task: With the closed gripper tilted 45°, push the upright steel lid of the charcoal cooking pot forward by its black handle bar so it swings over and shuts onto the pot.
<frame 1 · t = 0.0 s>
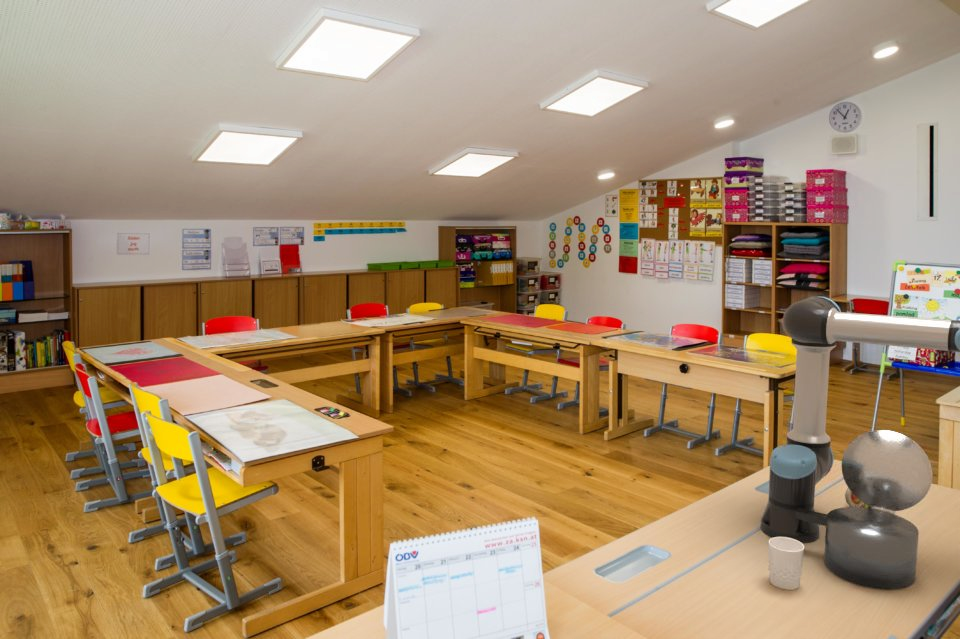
cooker lid: (886, 471, 185), point 21 cm above the table, hinge at 100.0°
white cup: (784, 583, 172), on the table
bird rattle: (858, 508, 214), on the table
cooker pot: (868, 568, 178), on the table
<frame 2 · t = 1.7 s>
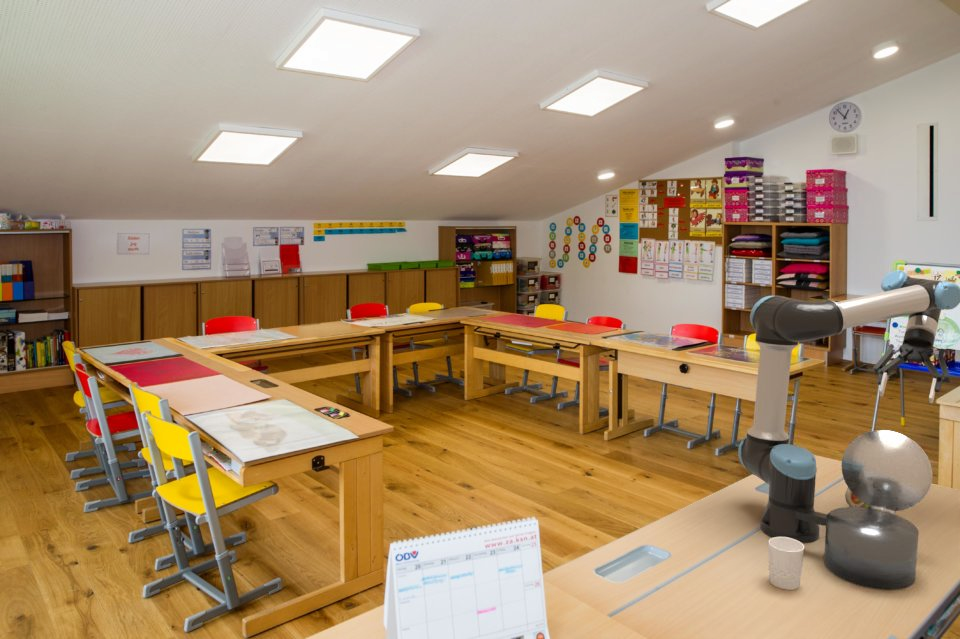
hand: (905, 397, 197), 37 cm above the table, tool tilted 45°, fingers open, 11 cm apart
nothing on the table moved.
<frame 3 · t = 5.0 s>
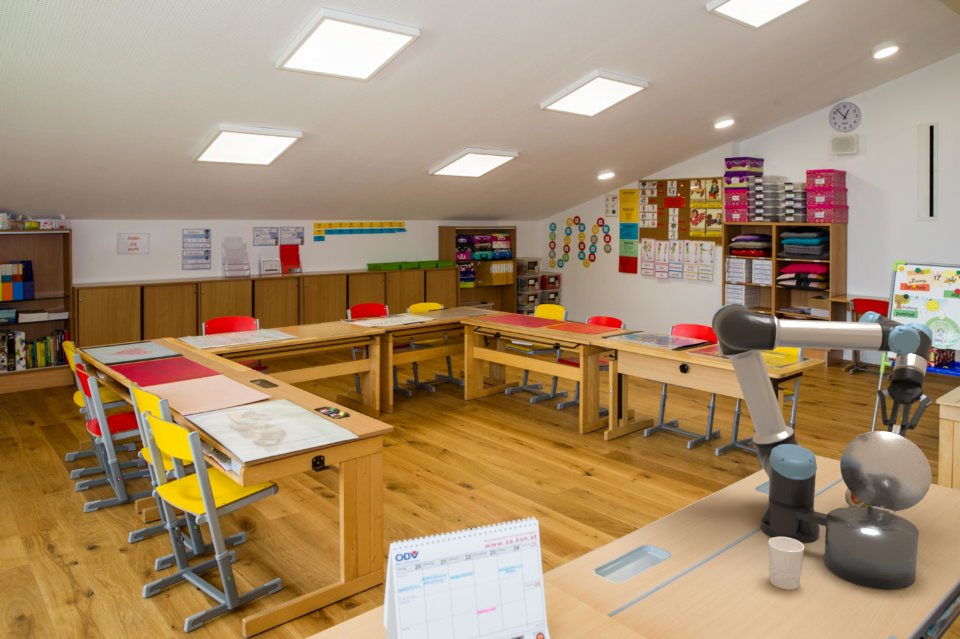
hand: (892, 449, 185), 27 cm above the table, tool tilted 45°, fingers closed
cooker lid: (885, 470, 184), point 22 cm above the table, hinge at 91.5°, touching gripper
everything else where it was.
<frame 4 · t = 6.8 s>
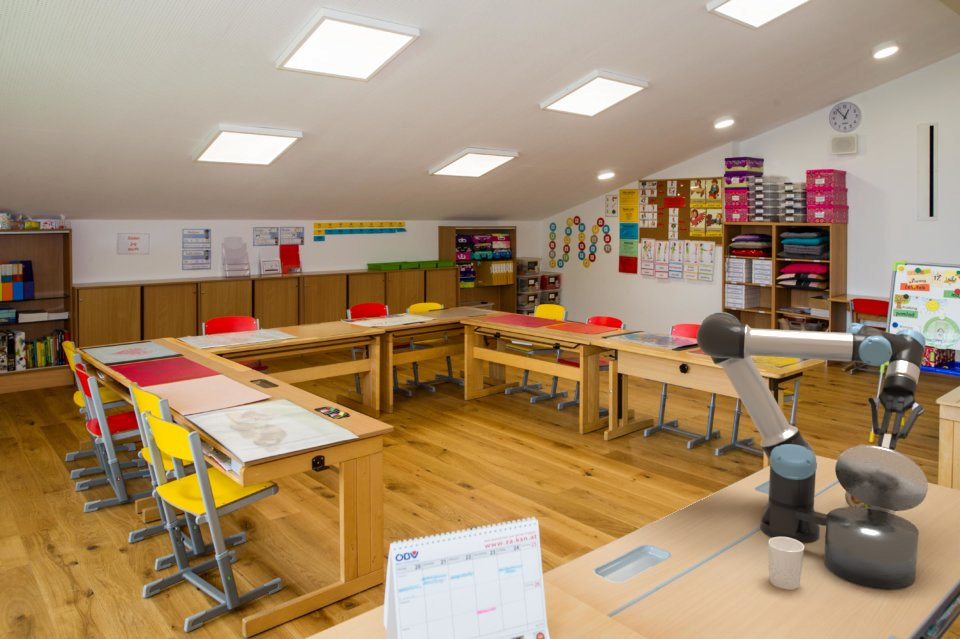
hand: (883, 458, 179), 27 cm above the table, tool tilted 45°, fingers closed
cooker lid: (881, 475, 181), point 22 cm above the table, hinge at 64.5°, touching gripper
everything else where it was.
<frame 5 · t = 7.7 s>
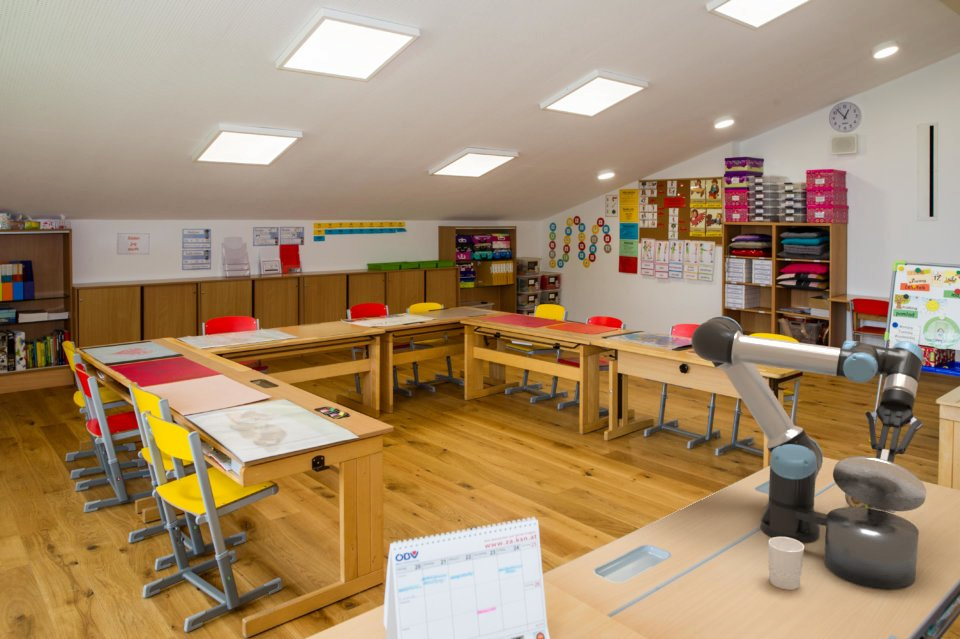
hand: (881, 474, 177), 24 cm above the table, tool tilted 45°, fingers closed
cooker lid: (879, 480, 179), point 21 cm above the table, hinge at 52.6°, touching gripper
everything else where it was.
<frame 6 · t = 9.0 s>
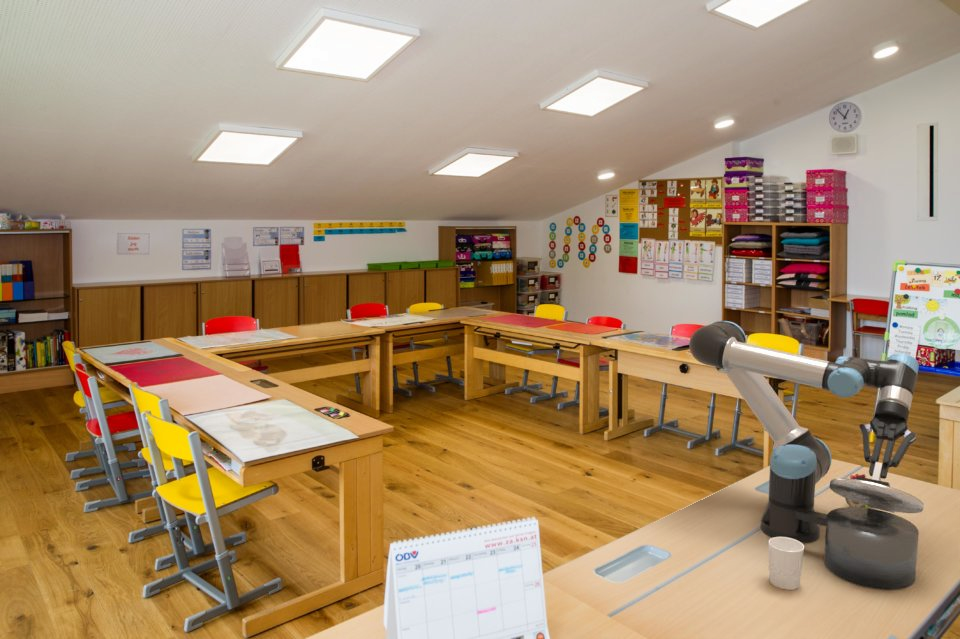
hand: (874, 488, 175), 21 cm above the table, tool tilted 45°, fingers closed
cooker lid: (876, 490, 177), point 19 cm above the table, hinge at 33.7°, touching gripper
everything else where it was.
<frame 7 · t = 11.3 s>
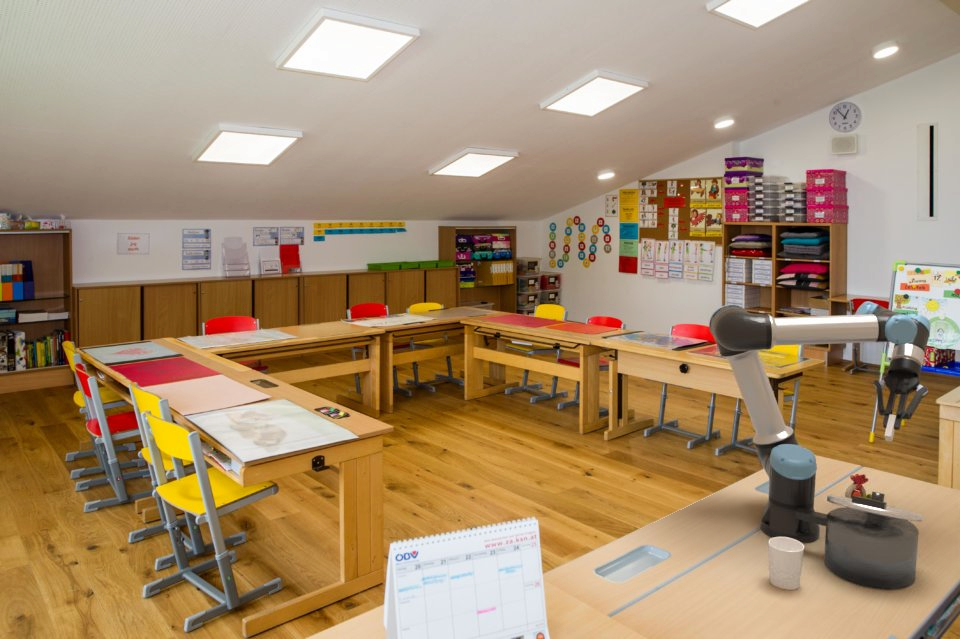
hand: (888, 438, 184), 30 cm above the table, tool tilted 45°, fingers closed
cooker lid: (874, 501, 176), point 17 cm above the table, hinge at 17.0°
everything else where it was.
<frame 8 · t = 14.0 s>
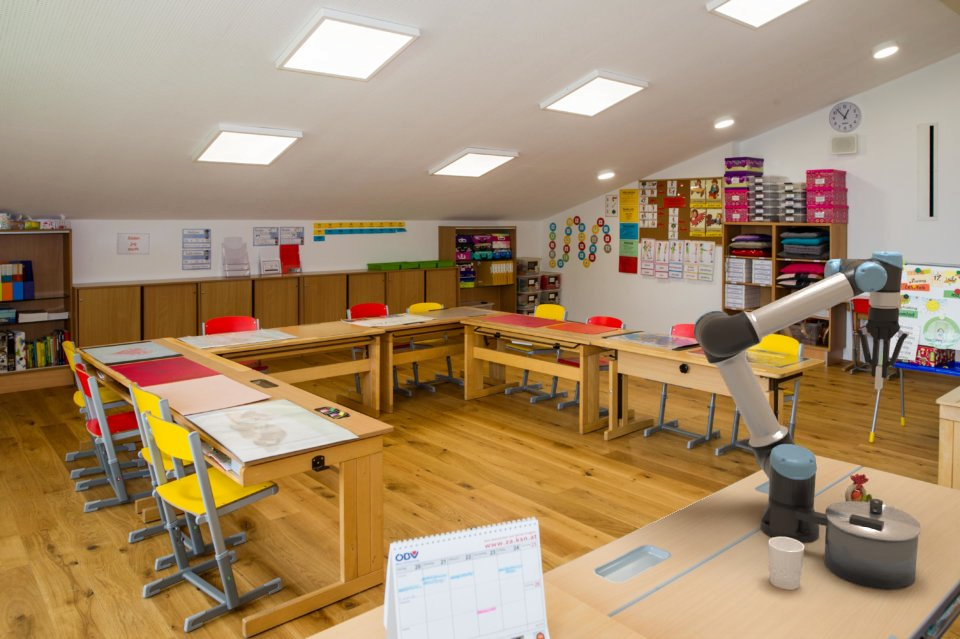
hand: (878, 388, 203), 38 cm above the table, tool pointing down, fingers closed
cooker lid: (872, 514, 176), point 14 cm above the table, hinge at -0.2°
everything else where it was.
at the end: cooker lid at +0° (first picture: +100°); white cup moved 0.2 cm from its start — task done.
